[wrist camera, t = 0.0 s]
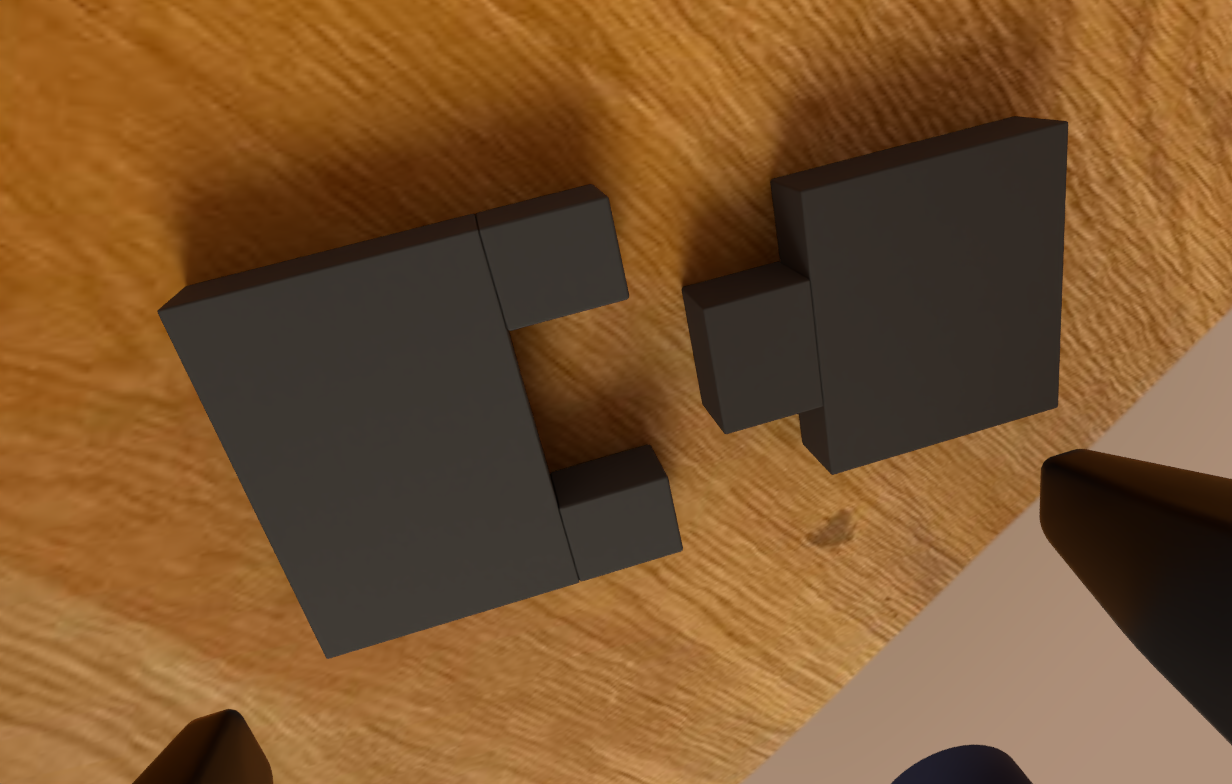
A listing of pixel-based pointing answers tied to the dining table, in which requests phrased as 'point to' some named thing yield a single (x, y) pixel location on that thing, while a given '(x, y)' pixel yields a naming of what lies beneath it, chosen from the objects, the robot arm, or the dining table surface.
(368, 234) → the dining table surface
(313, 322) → the dark grey notched block
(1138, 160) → the dining table surface
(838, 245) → the dark grey tabbed block
